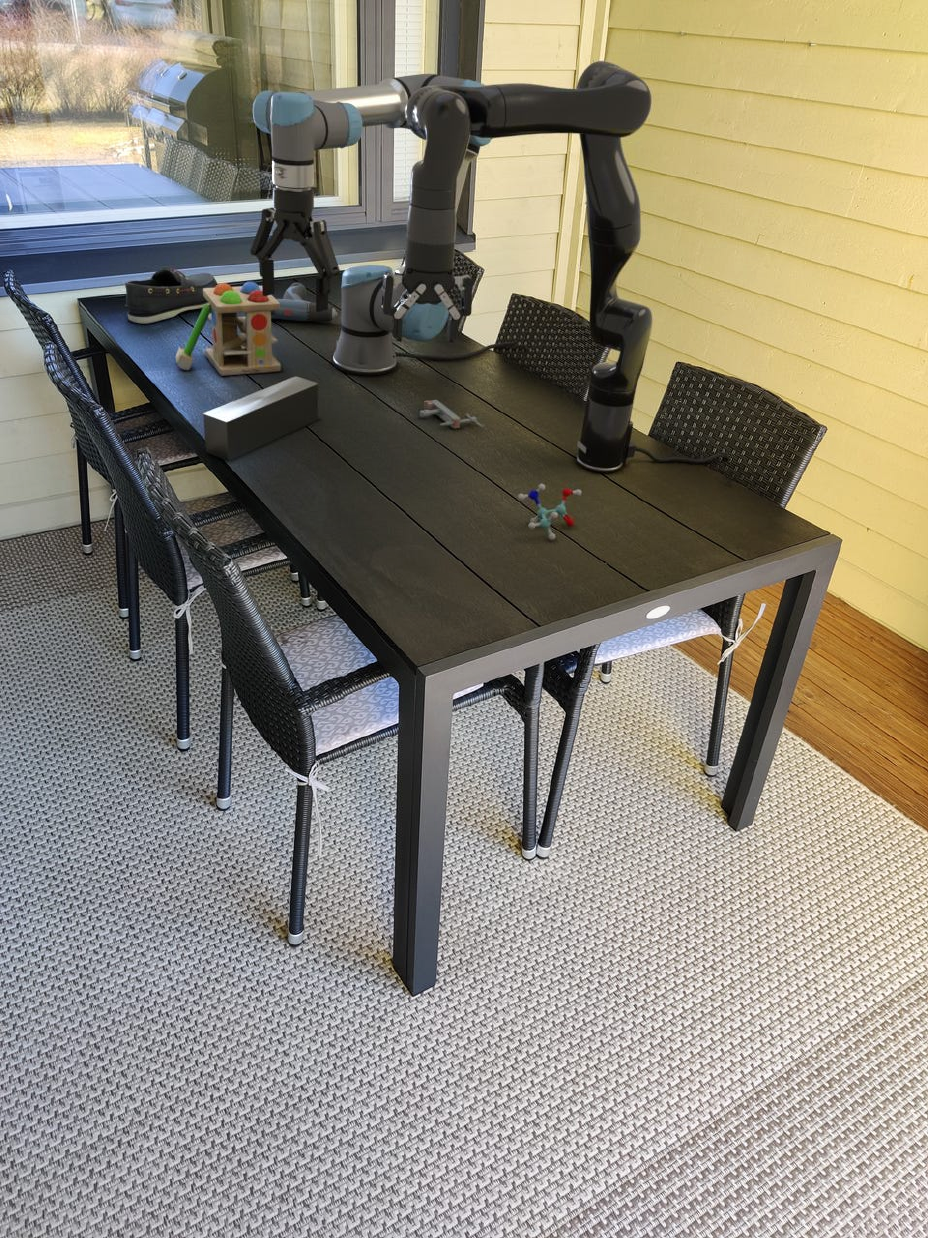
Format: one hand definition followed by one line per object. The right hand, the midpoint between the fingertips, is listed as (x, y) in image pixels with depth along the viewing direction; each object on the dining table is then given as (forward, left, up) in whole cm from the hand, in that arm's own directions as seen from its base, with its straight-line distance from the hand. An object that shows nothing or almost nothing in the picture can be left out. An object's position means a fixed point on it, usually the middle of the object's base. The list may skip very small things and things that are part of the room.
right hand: (424, 340), depth 159 cm
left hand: (+3, -47, -8) cm, 47 cm away
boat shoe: (+4, -126, -32) cm, 131 cm away
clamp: (-27, -35, -32) cm, 55 cm away
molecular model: (-20, +13, -32) cm, 40 cm away
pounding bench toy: (+6, -82, -32) cm, 88 cm away
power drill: (-28, -113, -32) cm, 121 cm away
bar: (+12, -42, -32) cm, 54 cm away
